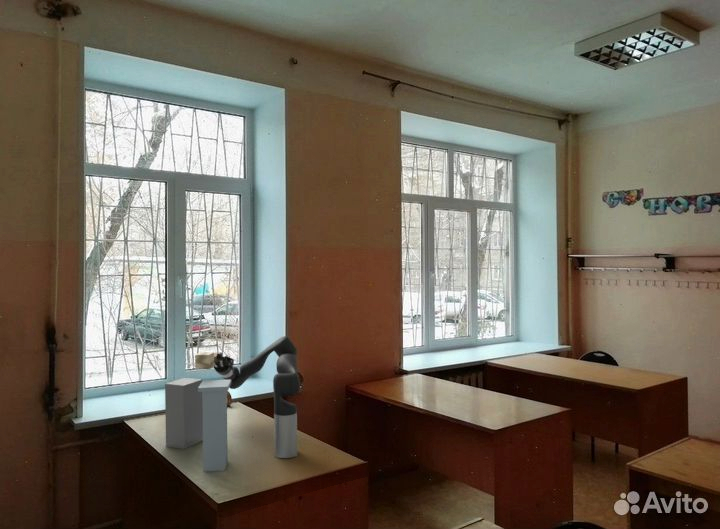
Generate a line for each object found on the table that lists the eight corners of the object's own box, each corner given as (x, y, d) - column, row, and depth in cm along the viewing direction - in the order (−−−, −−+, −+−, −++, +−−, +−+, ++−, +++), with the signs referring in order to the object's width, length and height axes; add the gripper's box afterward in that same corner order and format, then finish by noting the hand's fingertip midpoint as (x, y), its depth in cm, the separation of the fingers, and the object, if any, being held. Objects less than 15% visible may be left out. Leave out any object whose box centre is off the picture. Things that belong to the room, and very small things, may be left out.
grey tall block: (184, 437, 238) (184, 377, 238) (202, 439, 234) (202, 379, 234) (165, 446, 227) (165, 383, 226) (184, 449, 223) (183, 385, 223)
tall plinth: (232, 458, 212) (231, 379, 212) (228, 470, 200) (227, 386, 200) (204, 460, 211) (202, 380, 210) (199, 472, 199) (197, 387, 198)
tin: (232, 406, 286) (232, 391, 286) (227, 408, 284) (227, 392, 284) (217, 401, 297) (217, 386, 297) (212, 403, 294) (212, 388, 294)
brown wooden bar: (225, 358, 241) (225, 345, 241) (209, 369, 219) (209, 354, 219) (212, 358, 241) (212, 345, 241) (195, 369, 219) (195, 355, 219)
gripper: (238, 375, 246) (228, 363, 231) (208, 375, 247) (196, 363, 232) (239, 359, 250) (230, 347, 235) (210, 360, 251) (199, 347, 236)
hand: (213, 355), depth 233 cm, fingers closed on brown wooden bar, 3 cm apart
